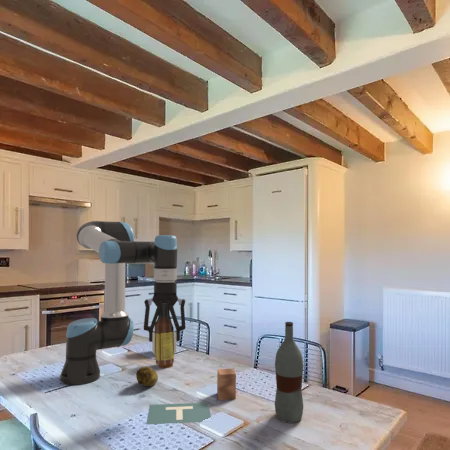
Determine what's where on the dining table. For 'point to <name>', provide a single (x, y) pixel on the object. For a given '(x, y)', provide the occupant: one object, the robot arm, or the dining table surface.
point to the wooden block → (226, 384)
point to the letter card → (178, 413)
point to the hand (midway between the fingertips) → (164, 351)
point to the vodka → (289, 379)
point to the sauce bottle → (164, 337)
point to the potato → (146, 376)
